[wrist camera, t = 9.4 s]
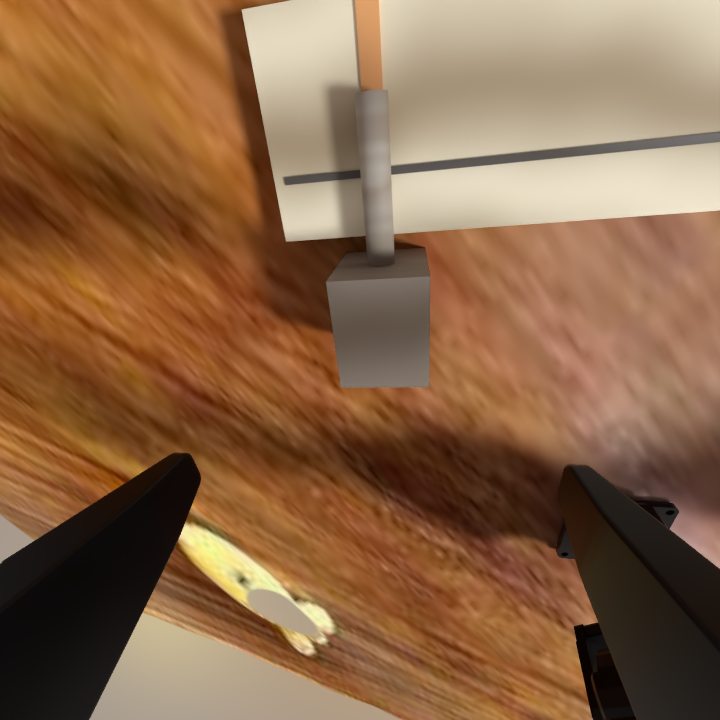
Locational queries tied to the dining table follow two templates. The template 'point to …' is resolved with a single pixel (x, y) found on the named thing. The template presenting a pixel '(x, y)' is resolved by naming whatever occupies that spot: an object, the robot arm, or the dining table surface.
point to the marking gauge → (380, 276)
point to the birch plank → (491, 109)
